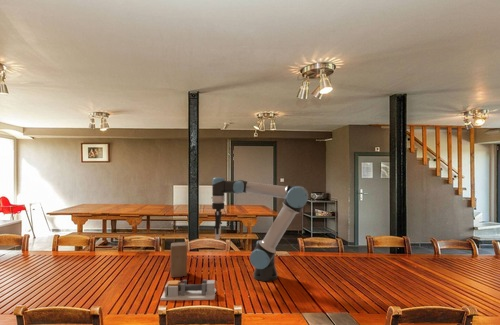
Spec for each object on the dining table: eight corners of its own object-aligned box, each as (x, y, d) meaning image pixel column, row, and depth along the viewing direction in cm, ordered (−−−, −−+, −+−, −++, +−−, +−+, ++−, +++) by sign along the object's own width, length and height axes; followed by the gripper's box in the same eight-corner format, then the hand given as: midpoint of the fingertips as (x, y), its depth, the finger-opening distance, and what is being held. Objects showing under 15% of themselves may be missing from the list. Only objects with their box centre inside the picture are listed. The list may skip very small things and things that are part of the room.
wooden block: (170, 278, 193) (171, 246, 193) (170, 273, 202) (170, 242, 203) (186, 276, 195) (187, 245, 196) (185, 271, 205) (186, 241, 206)
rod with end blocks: (214, 291, 170) (214, 280, 170) (214, 294, 165) (214, 283, 165) (169, 291, 169) (170, 280, 169) (167, 295, 164) (168, 283, 164)
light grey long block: (215, 290, 173) (216, 277, 173) (214, 299, 161) (214, 285, 161) (165, 291, 172) (165, 278, 172) (160, 300, 160) (160, 286, 160)
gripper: (213, 200, 203) (213, 232, 202) (210, 204, 178) (210, 241, 177) (225, 200, 203) (224, 232, 202) (223, 204, 178) (223, 241, 177)
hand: (218, 236), depth 190 cm, fingers open, 13 cm apart
